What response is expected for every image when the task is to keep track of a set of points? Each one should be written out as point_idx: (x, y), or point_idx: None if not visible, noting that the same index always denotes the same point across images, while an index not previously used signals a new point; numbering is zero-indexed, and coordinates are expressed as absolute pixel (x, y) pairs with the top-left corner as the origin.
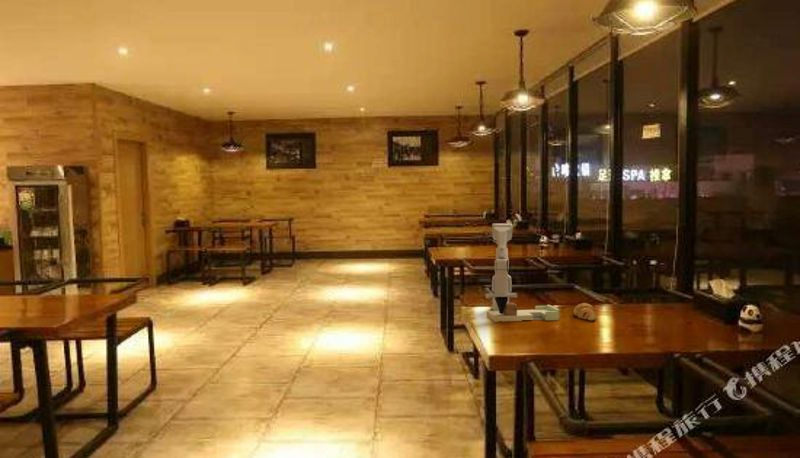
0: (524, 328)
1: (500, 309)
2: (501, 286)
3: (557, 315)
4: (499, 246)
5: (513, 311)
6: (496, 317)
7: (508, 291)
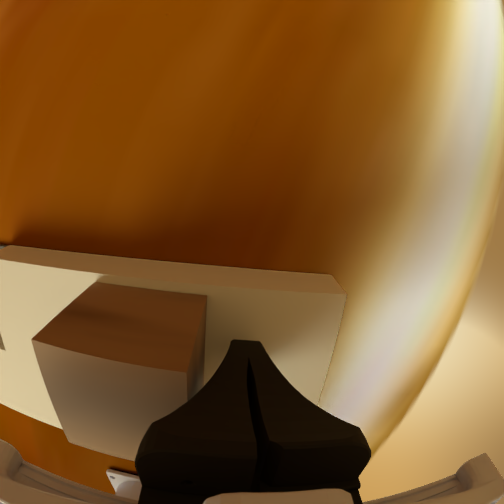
0: None
1: (272, 361)
2: None
3: None
4: None
5: (112, 306)
6: (323, 288)
7: None
